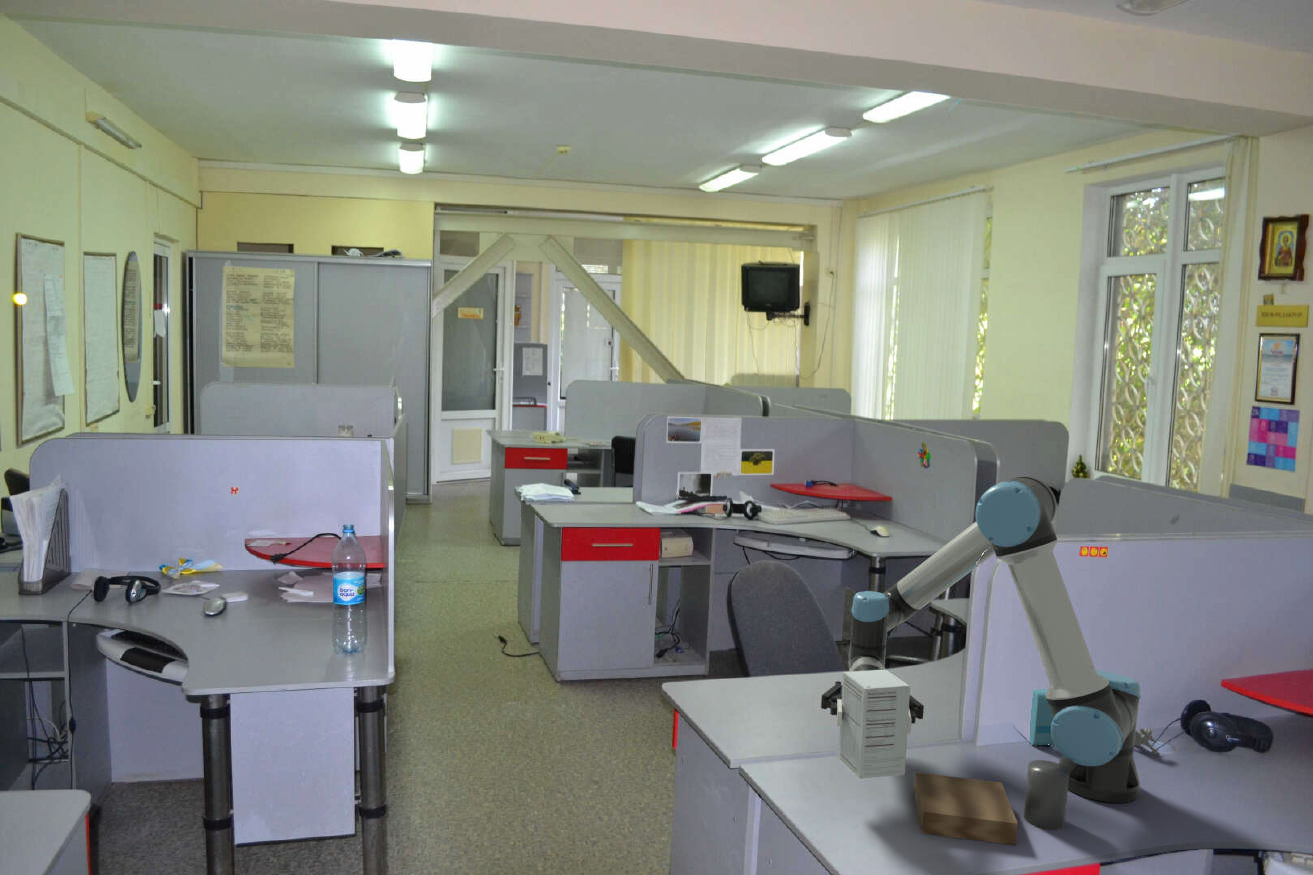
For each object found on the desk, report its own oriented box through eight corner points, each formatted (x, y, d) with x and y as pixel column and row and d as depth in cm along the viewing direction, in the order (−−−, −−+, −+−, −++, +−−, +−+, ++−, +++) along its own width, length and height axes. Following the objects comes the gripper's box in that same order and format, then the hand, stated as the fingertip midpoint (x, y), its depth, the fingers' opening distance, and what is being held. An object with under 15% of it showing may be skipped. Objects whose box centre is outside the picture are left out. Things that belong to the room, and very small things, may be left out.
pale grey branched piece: (1153, 743, 219) (1173, 745, 210) (1136, 763, 218) (1156, 766, 209) (1118, 710, 221) (1136, 711, 212) (1101, 729, 220) (1119, 731, 211)
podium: (999, 802, 187) (1001, 782, 186) (1015, 845, 171) (1017, 823, 170) (913, 791, 189) (915, 771, 189) (921, 832, 174) (923, 811, 173)
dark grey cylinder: (1059, 813, 183) (1064, 762, 182) (1068, 831, 177) (1073, 779, 175) (1020, 808, 185) (1025, 758, 183) (1027, 826, 178) (1032, 774, 177)
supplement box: (906, 775, 177) (912, 686, 175) (859, 779, 175) (865, 689, 173) (881, 753, 186) (886, 667, 184) (836, 756, 184) (842, 670, 182)
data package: (1053, 748, 213) (1059, 695, 212) (1033, 747, 213) (1038, 694, 211) (1031, 726, 225) (1035, 675, 224) (1011, 725, 225) (1016, 675, 223)
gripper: (927, 705, 198) (940, 749, 176) (808, 693, 202) (806, 735, 180) (930, 669, 197) (943, 709, 176) (810, 658, 201) (808, 696, 179)
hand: (874, 722), depth 178 cm, fingers closed on supplement box, 12 cm apart
